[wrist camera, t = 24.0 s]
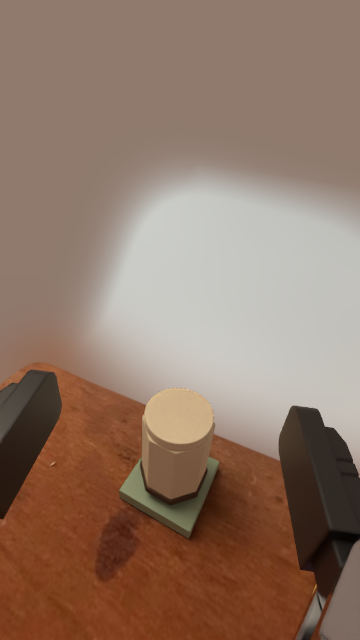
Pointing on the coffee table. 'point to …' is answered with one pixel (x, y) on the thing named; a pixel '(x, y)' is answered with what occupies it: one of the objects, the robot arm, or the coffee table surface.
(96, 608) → the coffee table surface
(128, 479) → the green square peg base
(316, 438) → the robot arm
